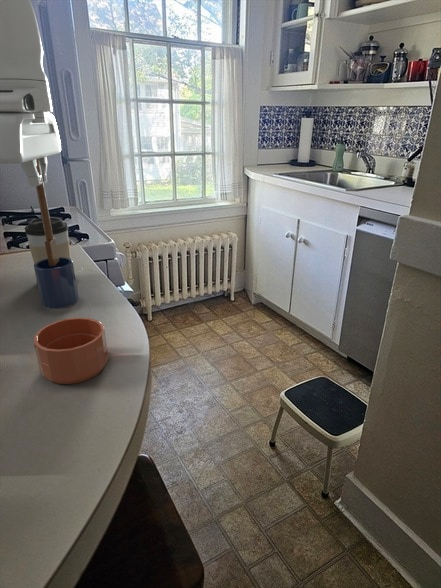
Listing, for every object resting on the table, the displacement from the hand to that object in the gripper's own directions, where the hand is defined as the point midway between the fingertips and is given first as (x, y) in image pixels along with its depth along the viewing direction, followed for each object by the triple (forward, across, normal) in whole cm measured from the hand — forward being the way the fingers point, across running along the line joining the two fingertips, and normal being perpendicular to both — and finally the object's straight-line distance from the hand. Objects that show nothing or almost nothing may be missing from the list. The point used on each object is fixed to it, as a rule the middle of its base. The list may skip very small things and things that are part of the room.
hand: (38, 184), depth 72 cm
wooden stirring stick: (+15, 0, 0) cm, 16 cm away
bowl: (+24, +23, +10) cm, 35 cm away
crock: (+24, 0, 0) cm, 24 cm away
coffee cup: (+24, -12, -5) cm, 28 cm away
